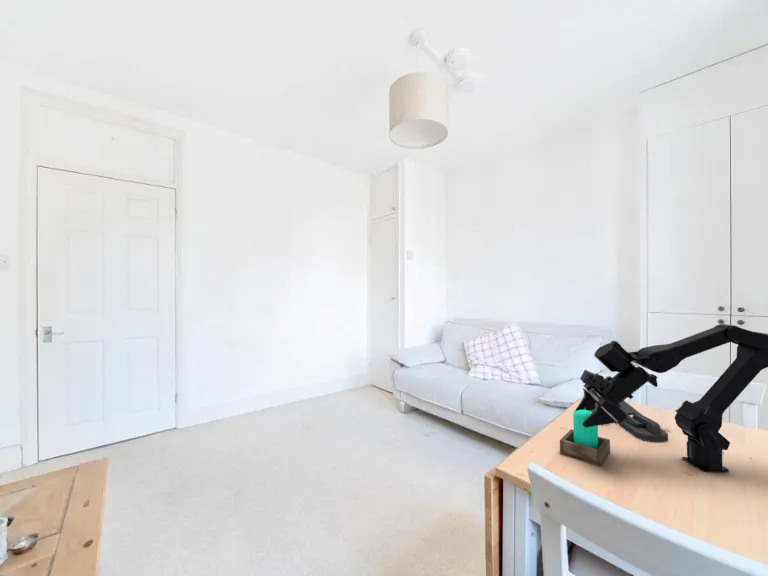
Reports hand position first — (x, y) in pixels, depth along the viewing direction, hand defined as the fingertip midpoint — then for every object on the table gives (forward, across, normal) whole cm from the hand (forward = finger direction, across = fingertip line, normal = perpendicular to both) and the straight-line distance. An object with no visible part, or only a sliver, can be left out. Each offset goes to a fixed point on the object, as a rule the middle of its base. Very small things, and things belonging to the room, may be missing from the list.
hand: (579, 419), depth 94 cm
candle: (+5, 0, +7) cm, 9 cm away
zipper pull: (-8, -26, +21) cm, 34 cm away
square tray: (+6, 0, +8) cm, 10 cm away
